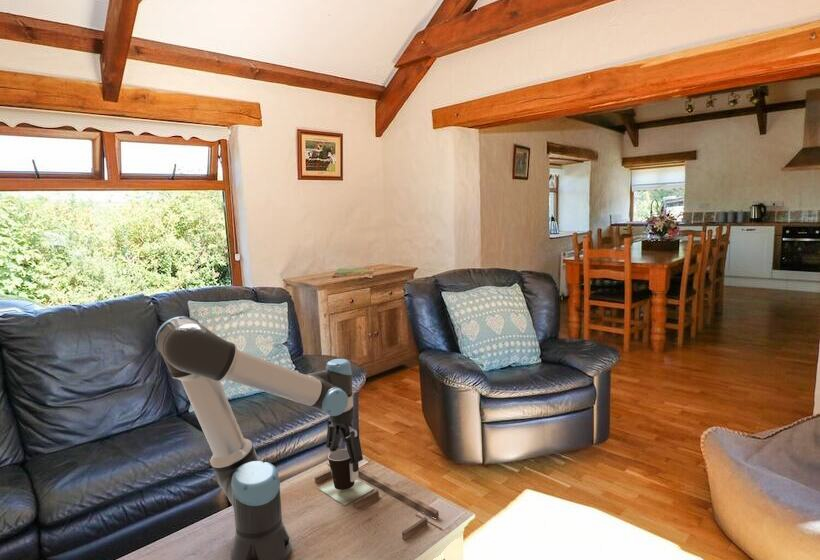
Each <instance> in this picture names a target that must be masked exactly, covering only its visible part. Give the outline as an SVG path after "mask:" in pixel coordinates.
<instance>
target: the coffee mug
mask: <svg viewBox="0 0 820 560" xmlns="http://www.w3.org/2000/svg"><path fill="white" fill-rule="evenodd" d="M327 460H328V464H329V468H330V469H331V473H332V476H331V479H332V481H333V482H334V487H335V488H336V489H338V490H345V489H349V488H351V487H352V486H353V485H354V481H353V482H351V481H350V465H349V462H350V461H351V459H350V456H349V453H348V450H347V448H339V450H338V449H337V450H336V451H333V452H331V451H330V452H329V454H328V455H327ZM330 469H329V470H330Z"/></svg>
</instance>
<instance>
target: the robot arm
mask: <svg viewBox="0 0 820 560" xmlns="http://www.w3.org/2000/svg"><path fill="white" fill-rule="evenodd" d="M155 346H156V350H157V351H158V353H159V354H160V355H161V356H162V358H163V360H164V363H165V365H166V367H167V369H168V372H169V374H170V376H171V378H172V379H175V380H179V381H180V382H181V385H182V387H183V389H184V391H185V394H186V396H187V398H188V400H189V403H190V404H191V407H192V409H193V412H194V415H195V416H196V419H197V420H198V423H199V425H200V427H201V430H202V432H203V434H204V436H205V438H206V441H207V443H208V446H209V448H210V450H211V452H212V456H211V458H210V461H209V462H210V465H211V468H212V470H213V472H214V478H215V481H216V483H217V485H218V486H219V487H220V488H221V490H222V491H223V492H224V494H225V496H226V497H227V499H228V502H230V504H231V506H232V507H233V513H234V514H233V515H234V527H235V535H234V538H233V543H232V546H231V551H230V560H287V559H288V558H289V556H290V554H291V552H292V543H291V538H290V535H289V533H288V531H287V528H286V527H285V525H284V522H283V514H282V499H281V480H280V476H279V472H278V469H277V468H276V467H275V465H273V464H272V463H270V462H269V461H268V462H267V461H265V462H264V461H263V460H260V459H259V457H258V454H257V452H256V450H255V446H254V445H253V442H252V441H251V439H248V438H245V437H244V436H243V433H242V431H241V428H240V426H239V424H238V421H237V418H236V417H235V414H234V412H233V409H232V407H231V404H230V402H229V400H228V397H227V394H226V392H225V391H224V388H223V385H222V383H221V381H223V380H228V381H230V382H233V383H237V384H239V385H240V384H241V385H243V386H246V387H249V388H252V389H255V390H259V391H262V392H265V393H267V394H268V393H269V394H271V395H275V396H277V397H280V398H283V399H287V400H290V401H292V402H295V403H299V404H302V405H306V406H308V407H310V408H314V409H316V410H319V411H322V412H323V413H324V414H325V415H329V419H328V420H326V425H327V426H326V427H327V429H326V430H327V431H326V442H325V443H326V445H325V446H326V448H327V449H329V451H330V453H331V452H333V451H336V450H340V449H341V447H340V442H341V439H342V441H343V442H344V444H345V446H346V449H347V450H348V453H349V456H350V459H351V461H350V462H349V465H350V481H351V482H353V481H355V480H357V479H358V480H360V477H359V476H358V470H359V468H360V466H359V462H361V461H363V460H364V458H363V457H364V456H363V452H362V447H361V441H360V429H358V428H356V429H354V428H353V424H352V422H353V421H354V418H355V413H354V412H355V411H354V397H353V379H352V377H353V372H352V365H351V362H350V360H348V359H346V358H335V359H334V358H333V359H331V360H329V361H328V362H326V366H325V369H323V370H319V371H314V372H311V373H306V374H304V373H301V372H300V371H299V372H298V371H296V370H294V369H291V368H287V367H285V366H282V365H280V364H277V363H276V362H275V363H274V362H272V361H269V360H268V359H264V358H261V357H259V356H256V355H253V354H251V353H248V352H245V351H242V350H240V349H238V347H237V345H236V343H233V342H230V341H228V340H226V339H223V338H222V337H220V336H218V335H217V334H216V333H214V332H213V331H211V330H210V329H209V328H208V327H206V326H204V325H203V324H201V323H200V322H199V321H198V320H197V319H195V318H193V317H189V316H175V317H172V318H170V319H168V320H166V321H165V322H163V323H162V324H161V325H160V326H159V327H158V330H157V331H156V335H155Z"/></svg>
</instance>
